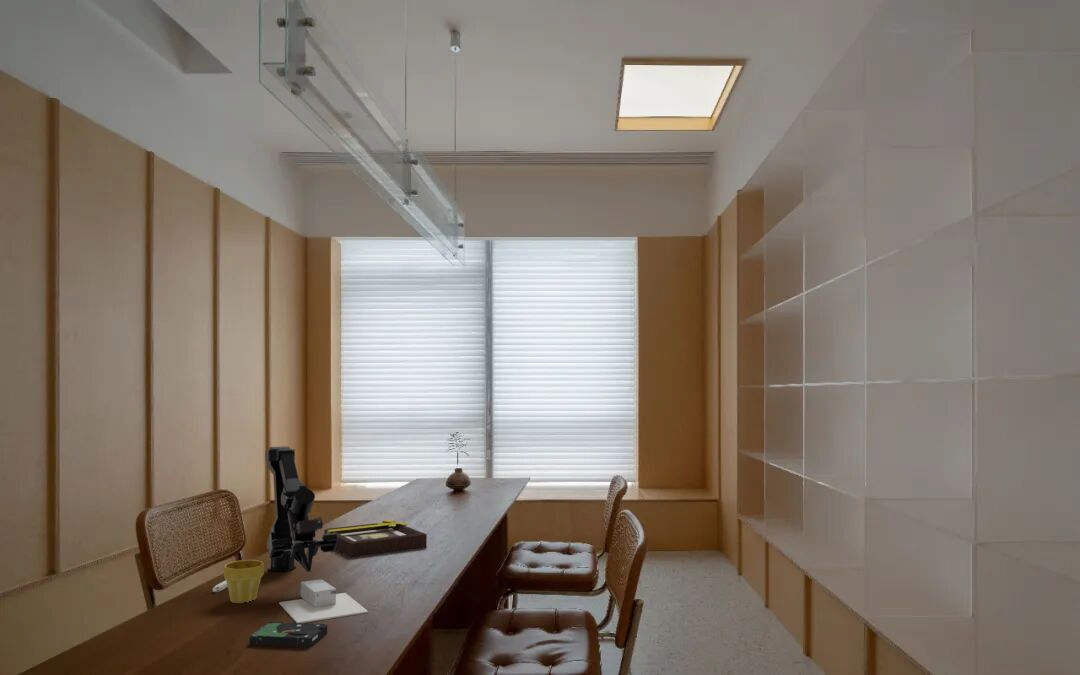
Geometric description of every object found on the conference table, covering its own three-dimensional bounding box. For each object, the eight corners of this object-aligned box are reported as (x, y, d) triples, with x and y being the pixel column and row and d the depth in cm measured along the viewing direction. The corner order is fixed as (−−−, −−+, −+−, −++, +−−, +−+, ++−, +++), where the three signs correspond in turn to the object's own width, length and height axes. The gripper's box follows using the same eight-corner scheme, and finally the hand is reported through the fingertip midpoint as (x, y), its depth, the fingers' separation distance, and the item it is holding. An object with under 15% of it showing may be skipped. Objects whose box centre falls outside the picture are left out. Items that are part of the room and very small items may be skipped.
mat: (279, 603, 209) (279, 602, 209) (345, 594, 218) (345, 592, 218) (297, 623, 192) (297, 622, 192) (368, 612, 201) (368, 611, 201)
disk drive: (327, 635, 185) (268, 632, 187) (328, 623, 186) (269, 620, 187) (310, 650, 175) (247, 647, 177) (310, 638, 175) (248, 634, 177)
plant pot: (259, 604, 209) (260, 567, 209) (219, 606, 207) (219, 569, 207) (266, 593, 219) (267, 558, 219) (228, 595, 217) (228, 560, 218)
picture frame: (322, 526, 286) (398, 518, 303) (322, 544, 286) (398, 535, 303) (350, 540, 263) (430, 530, 280) (349, 559, 263) (430, 548, 279)
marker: (216, 594, 219) (216, 586, 219) (209, 594, 219) (209, 586, 219) (246, 578, 237) (246, 570, 237) (240, 578, 237) (240, 570, 237)
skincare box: (300, 597, 214) (313, 609, 204) (300, 580, 214) (313, 592, 204) (322, 593, 217) (336, 605, 207) (322, 577, 218) (336, 588, 207)
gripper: (271, 511, 219) (279, 558, 209) (337, 505, 228) (348, 551, 218) (265, 534, 225) (272, 581, 215) (329, 527, 235) (339, 572, 225)
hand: (308, 571), depth 218 cm, fingers closed
